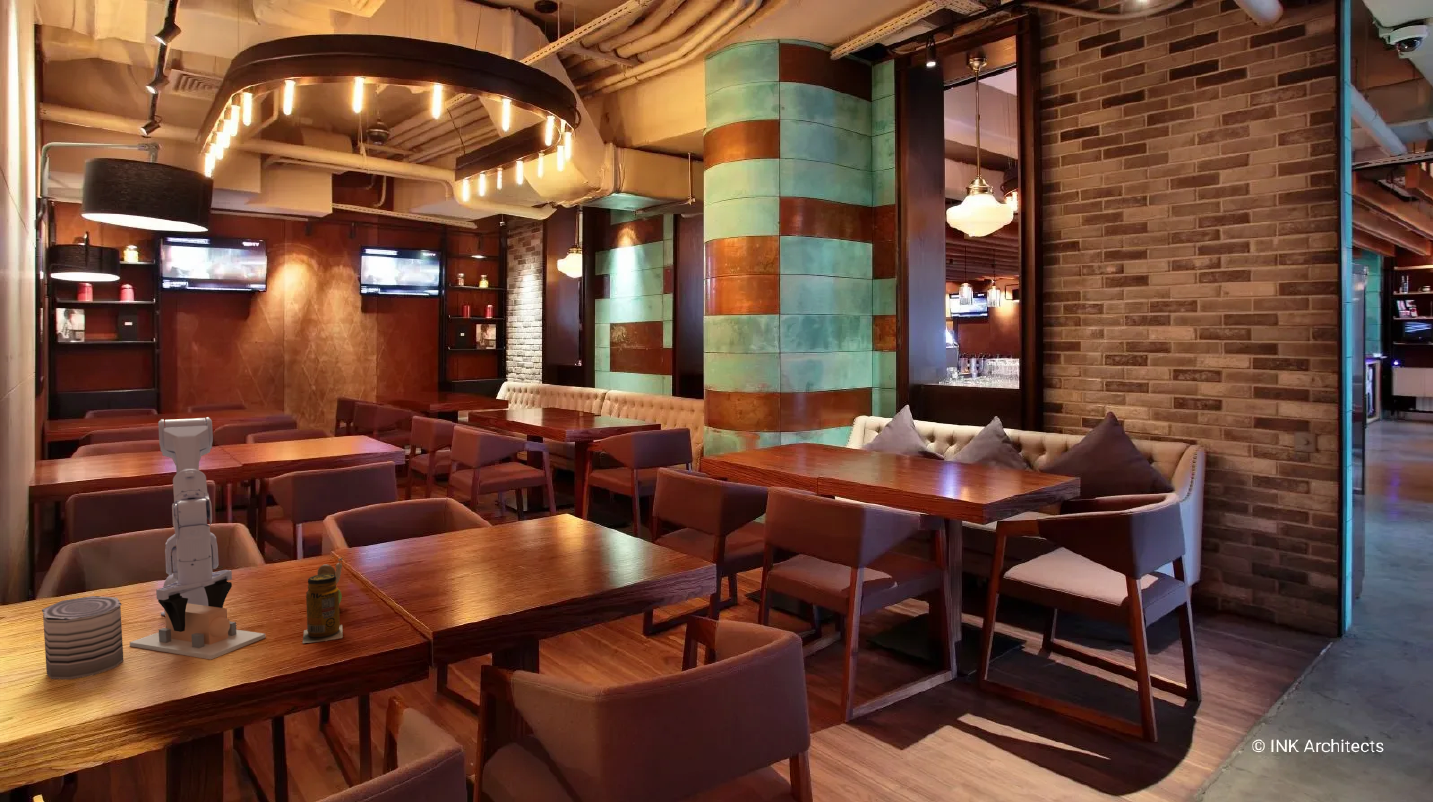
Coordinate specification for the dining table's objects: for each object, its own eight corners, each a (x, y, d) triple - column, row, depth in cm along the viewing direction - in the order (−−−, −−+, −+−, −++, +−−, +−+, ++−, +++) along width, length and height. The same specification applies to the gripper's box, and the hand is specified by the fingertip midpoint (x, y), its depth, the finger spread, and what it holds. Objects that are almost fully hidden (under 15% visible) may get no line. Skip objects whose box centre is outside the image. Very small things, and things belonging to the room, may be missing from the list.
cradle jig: (129, 645, 157) (128, 629, 156) (187, 625, 168) (186, 610, 168) (210, 659, 149) (210, 642, 149) (265, 637, 161) (264, 621, 161)
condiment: (342, 625, 168) (340, 570, 167) (342, 638, 160) (340, 580, 159) (303, 631, 165) (301, 574, 164) (302, 644, 157) (299, 585, 156)
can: (114, 650, 154) (111, 590, 153) (131, 665, 147) (128, 602, 146) (39, 669, 145) (35, 605, 145) (53, 685, 138) (49, 619, 137)
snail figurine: (335, 614, 175) (333, 561, 174) (309, 612, 176) (307, 560, 175) (351, 606, 180) (349, 555, 179) (326, 604, 181) (324, 553, 181)
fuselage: (166, 637, 159) (164, 608, 158) (185, 630, 163) (183, 602, 162) (217, 645, 154) (215, 615, 154) (235, 638, 158) (234, 609, 158)
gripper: (173, 569, 149) (177, 638, 150) (241, 550, 163) (244, 614, 164) (147, 566, 152) (150, 634, 153) (216, 548, 165) (219, 611, 166)
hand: (197, 624), depth 158 cm, fingers open, 7 cm apart
